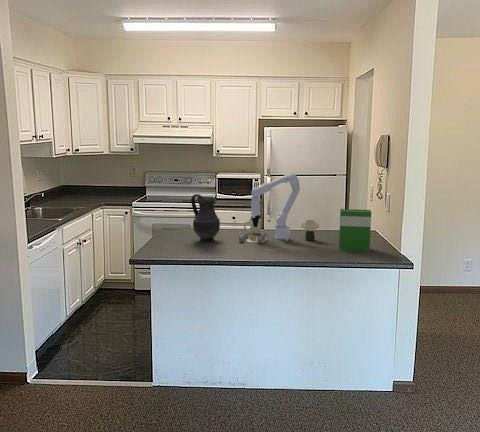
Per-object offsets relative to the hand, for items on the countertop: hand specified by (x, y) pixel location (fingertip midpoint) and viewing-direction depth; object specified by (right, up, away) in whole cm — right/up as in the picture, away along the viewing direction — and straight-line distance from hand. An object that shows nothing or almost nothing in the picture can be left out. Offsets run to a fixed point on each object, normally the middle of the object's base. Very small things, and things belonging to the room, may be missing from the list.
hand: (255, 226), depth 328 cm
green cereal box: (+59, -13, -25) cm, 66 cm away
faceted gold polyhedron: (-2, -8, -5) cm, 10 cm away
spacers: (-2, -10, -6) cm, 11 cm away
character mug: (+36, -9, -1) cm, 37 cm away
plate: (-2, -10, -6) cm, 11 cm away
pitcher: (-33, -9, -3) cm, 35 cm away
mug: (-2, -5, +18) cm, 19 cm away
